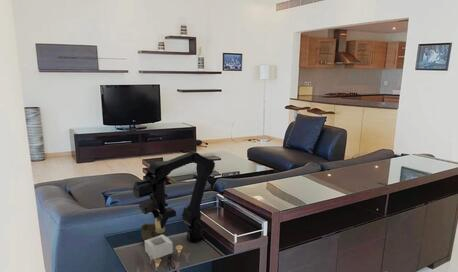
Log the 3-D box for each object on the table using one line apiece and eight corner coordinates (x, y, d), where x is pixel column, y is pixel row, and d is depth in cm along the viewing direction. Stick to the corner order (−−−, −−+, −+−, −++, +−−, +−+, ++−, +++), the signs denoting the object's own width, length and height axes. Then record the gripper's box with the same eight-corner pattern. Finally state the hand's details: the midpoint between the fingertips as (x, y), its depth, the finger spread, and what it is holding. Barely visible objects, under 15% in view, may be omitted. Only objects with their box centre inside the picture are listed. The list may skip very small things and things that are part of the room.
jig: (163, 244, 153) (162, 234, 152) (172, 252, 147) (172, 242, 146) (145, 250, 148) (144, 240, 147) (153, 259, 141) (153, 249, 140)
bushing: (162, 227, 148) (161, 214, 146) (166, 231, 145) (166, 217, 143) (153, 230, 145) (153, 217, 144) (158, 233, 142) (157, 220, 141)
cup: (153, 247, 151) (152, 230, 149) (138, 245, 153) (137, 229, 151) (160, 239, 158) (159, 223, 157) (145, 237, 160) (144, 222, 158)
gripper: (131, 190, 144) (133, 224, 147) (151, 203, 129) (152, 240, 132) (155, 184, 151) (156, 217, 154) (176, 196, 136) (177, 232, 139)
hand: (160, 226), depth 145 cm, fingers closed on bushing, 4 cm apart
